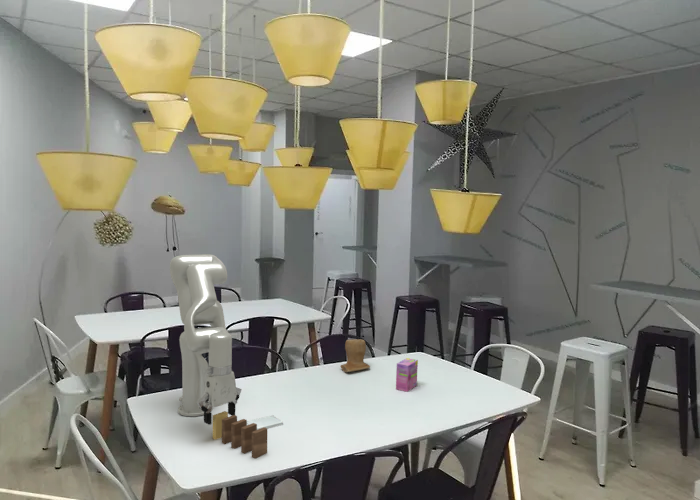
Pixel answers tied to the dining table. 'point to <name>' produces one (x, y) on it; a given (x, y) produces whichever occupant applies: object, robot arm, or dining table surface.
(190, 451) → the dining table surface
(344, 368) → the brown statuette
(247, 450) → the walnut domino
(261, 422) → the hard drive
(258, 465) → the dining table surface
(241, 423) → the walnut domino
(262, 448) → the walnut domino
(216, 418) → the ochre domino
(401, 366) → the box
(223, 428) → the walnut domino
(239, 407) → the dining table surface
